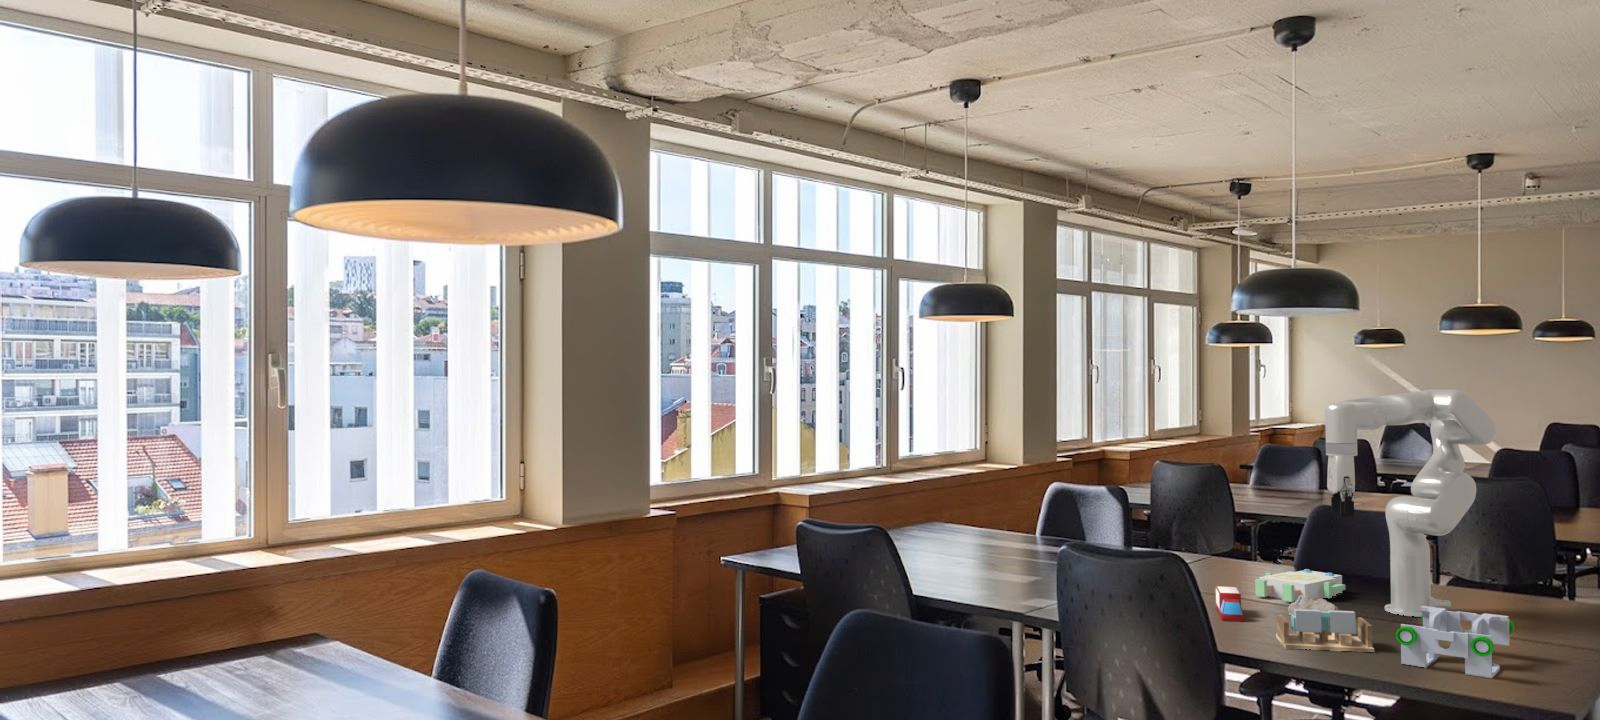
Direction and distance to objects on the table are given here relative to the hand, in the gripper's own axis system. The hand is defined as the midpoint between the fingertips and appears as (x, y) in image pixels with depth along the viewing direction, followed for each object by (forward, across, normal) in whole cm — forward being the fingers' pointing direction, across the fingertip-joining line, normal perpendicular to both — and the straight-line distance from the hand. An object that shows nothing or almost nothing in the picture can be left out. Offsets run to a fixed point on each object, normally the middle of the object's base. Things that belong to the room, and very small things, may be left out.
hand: (1342, 514), depth 291 cm
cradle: (+28, +28, -11) cm, 41 cm away
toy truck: (+29, -1, -28) cm, 40 cm away
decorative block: (+29, -32, -5) cm, 44 cm away
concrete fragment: (+29, 0, -7) cm, 29 cm away
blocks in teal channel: (+25, +29, -11) cm, 40 cm away
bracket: (+28, +39, +14) cm, 50 cm away
